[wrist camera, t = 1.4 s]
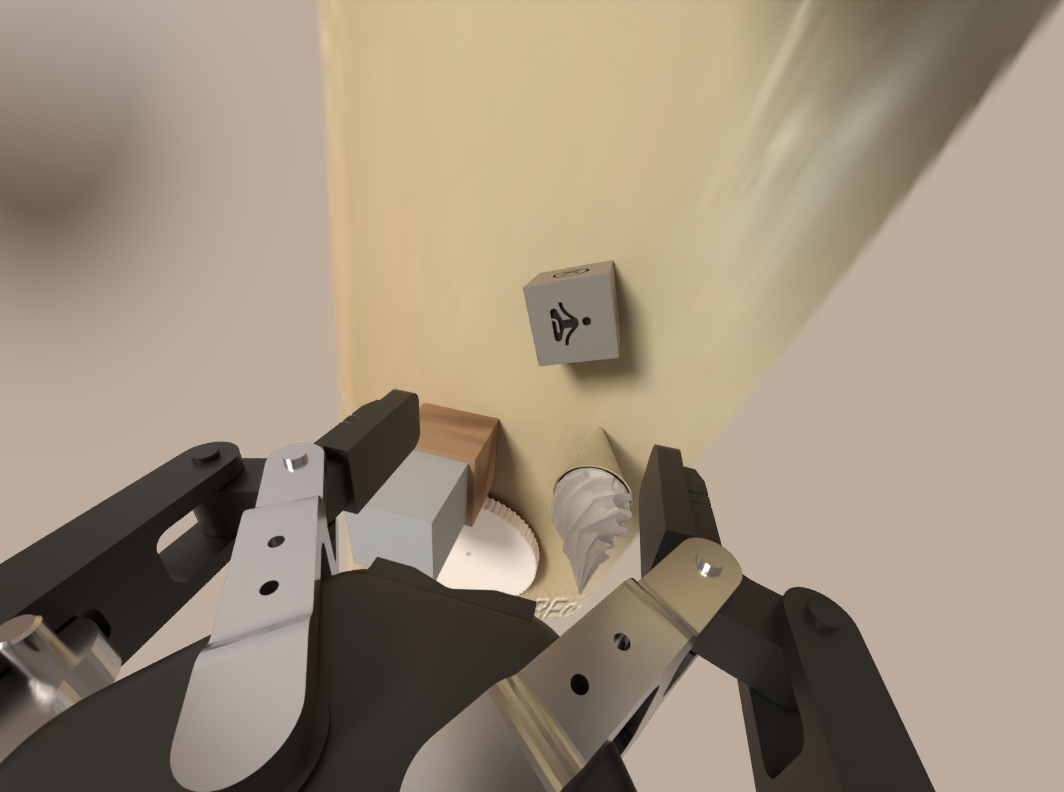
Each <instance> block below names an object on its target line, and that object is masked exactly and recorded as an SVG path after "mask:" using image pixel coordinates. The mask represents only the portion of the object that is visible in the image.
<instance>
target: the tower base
mask: <svg viewBox="0 0 1064 792" xmlns="http://www.w3.org/2000/svg"><path fill="white" fill-rule="evenodd" d="M419 416H420V437H419V441H418V443H417V445H416V447H415V449H414V451H418V452H423V453H427V454H431V455H435V456H439V457H444V458H448V459H452V460H456V461H460V462H464V463H468V479H467V509H466V522H465V524H464V525H467V526H470V527H472V526H473V524H474V522H475V520H476V518H477V516H478V514H479V512H480V510H481V507H482V505H483V503H484V501H485V499H486V497H487V495H488V493H489V491H490V489H491V487H492V484H493V482H494V479H495V466H496V453H497V439H498V426H499V419H497V418H492V417H487V416H483V415H478V414H474V413H469V412H464V411H460V410H455V409H451V408H446V407H441V406H437V405H432V404H428V403H424V404H423V405H422V406H421V407H420V408H419Z"/></svg>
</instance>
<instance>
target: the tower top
mask: <svg viewBox="0 0 1064 792" xmlns="http://www.w3.org/2000/svg"><path fill="white" fill-rule="evenodd" d="M467 479H468V463H464V462H460V461H456V460H452V459H448V458H444V457H439V456H435V455H431V454H427V453H423V452H418V451H414V450H413V451H412V452H411V453H410V454H409V456H408V457H407V458H406V459H405V460H404V461H403V463H402V464H401V465H400V466H399V467H398V468H397V470H396V471H395V472H394V473H393V474H392V475H391V476H390V478H389V479H388V480H387V481H386V482H385V483H384V485H383V486H382V487H381V488H380V489H379V490H378V492H377V493H376V494H375V495H374V496H373V497H372V498H371V500H370V501H369V502H368V503H367V504H366V505H365V507H364V508H363V509H362V510H361V511H360V512H359V514H358V515H357V514H354V513H350V512H346V511H345V516H346V522H347V527H348V533H349V538H350V544H351V549H352V555H353V560H354V563H357V564H361V565H364V566H367V567H370V566H371V564H372V563H373V561H374V560H375V559H376V557H380V558H384V559H387V560H391V561H394V562H398V563H401V564H405V565H409V566H412V567H415V568H416V569H418V570H420V571H421V572H423V573H425V574H426V575H428V576H429V577H431V578H433V579H434V580H437V578H438V576H439V574H440V572H441V570H442V568H443V566H444V564H445V562H446V560H447V558H448V556H449V554H450V552H451V550H452V548H453V546H454V544H455V542H456V540H457V538H458V536H459V534H460V532H461V530H462V528H463V526H464V524H465V522H466V509H467Z"/></svg>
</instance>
